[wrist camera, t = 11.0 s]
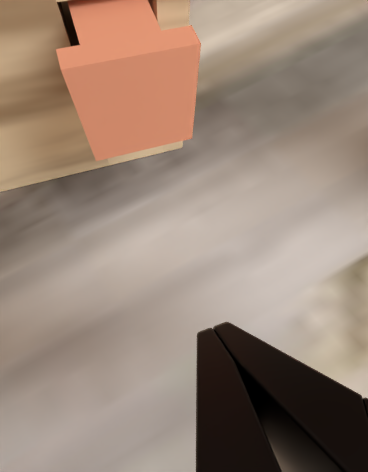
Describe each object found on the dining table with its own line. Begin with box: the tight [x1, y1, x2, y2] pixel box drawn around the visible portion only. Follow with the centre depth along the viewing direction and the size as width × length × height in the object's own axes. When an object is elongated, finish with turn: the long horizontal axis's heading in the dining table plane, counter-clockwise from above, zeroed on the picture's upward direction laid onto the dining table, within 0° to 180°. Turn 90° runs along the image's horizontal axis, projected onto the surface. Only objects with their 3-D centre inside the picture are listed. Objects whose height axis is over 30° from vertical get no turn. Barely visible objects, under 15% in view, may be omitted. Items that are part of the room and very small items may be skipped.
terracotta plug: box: [56, 0, 201, 161], centre depth 14 cm, size 12×5×5 cm, turn 18°
